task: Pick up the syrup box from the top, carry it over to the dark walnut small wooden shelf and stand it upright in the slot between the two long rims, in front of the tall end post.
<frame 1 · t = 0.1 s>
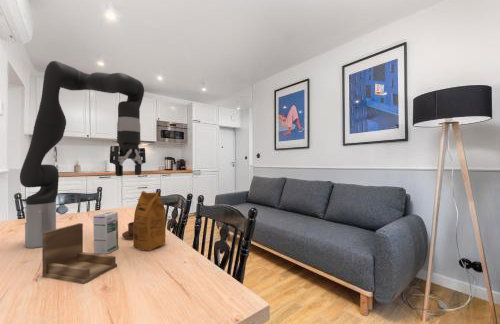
hand: (129, 175, 83), 29 cm above the table, tool pointing down, fingers open, 8 cm apart
coffee package: (149, 246, 92), on the table
small wooden shelf: (81, 271, 70), on the table
syrup box: (106, 251, 86), on the table
cup and saucer: (137, 236, 104), on the table
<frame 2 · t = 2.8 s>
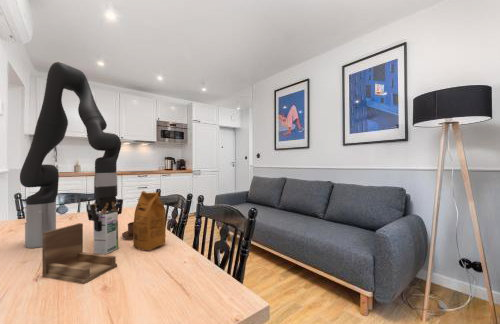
hand: (106, 228, 87), 9 cm above the table, tool pointing down, fingers closed on syrup box, 6 cm apart
syrup box: (106, 251, 86), on the table, touching gripper
everything else where it was.
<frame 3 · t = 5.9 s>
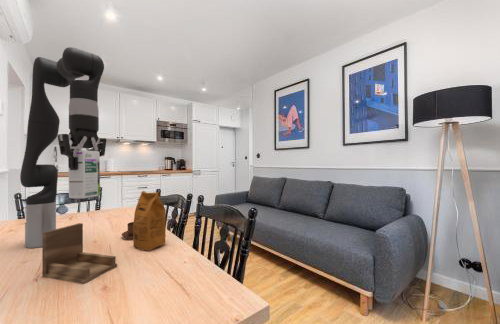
hand: (84, 169, 70), 32 cm above the table, tool pointing down, fingers closed on syrup box, 6 cm apart
syrup box: (84, 197, 70), point 23 cm above the table, touching gripper
everything else where it was.
when the fingers open (10 cm above the table, at t = 9.4 s): syrup box stays where it is, resting on small wooden shelf.
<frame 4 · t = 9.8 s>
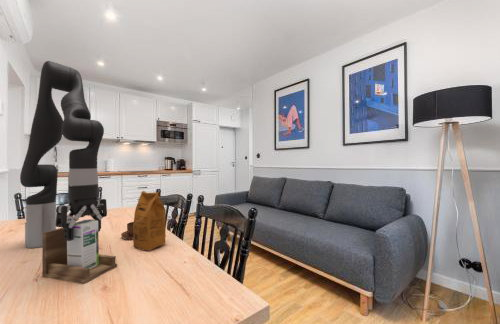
hand: (83, 235, 70), 11 cm above the table, tool pointing down, fingers open, 8 cm apart
syrup box: (83, 269, 70), point 1 cm above the table, touching small wooden shelf
everything else where it was.
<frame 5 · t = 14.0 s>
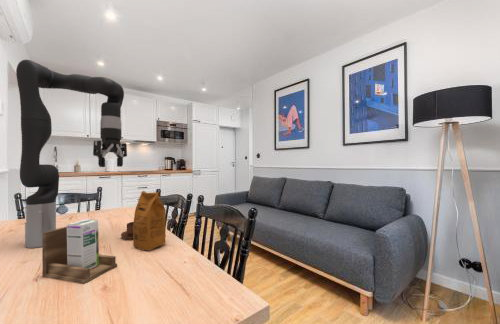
hand: (111, 166, 95), 32 cm above the table, tool pointing down, fingers open, 8 cm apart
nothing on the table moved.
at the end: syrup box inside the target area on the small wooden shelf (0.1 cm from its centre), point 0.8 cm above the small wooden shelf's base; syrup box tilted 0°; the gripper is holding nothing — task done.
